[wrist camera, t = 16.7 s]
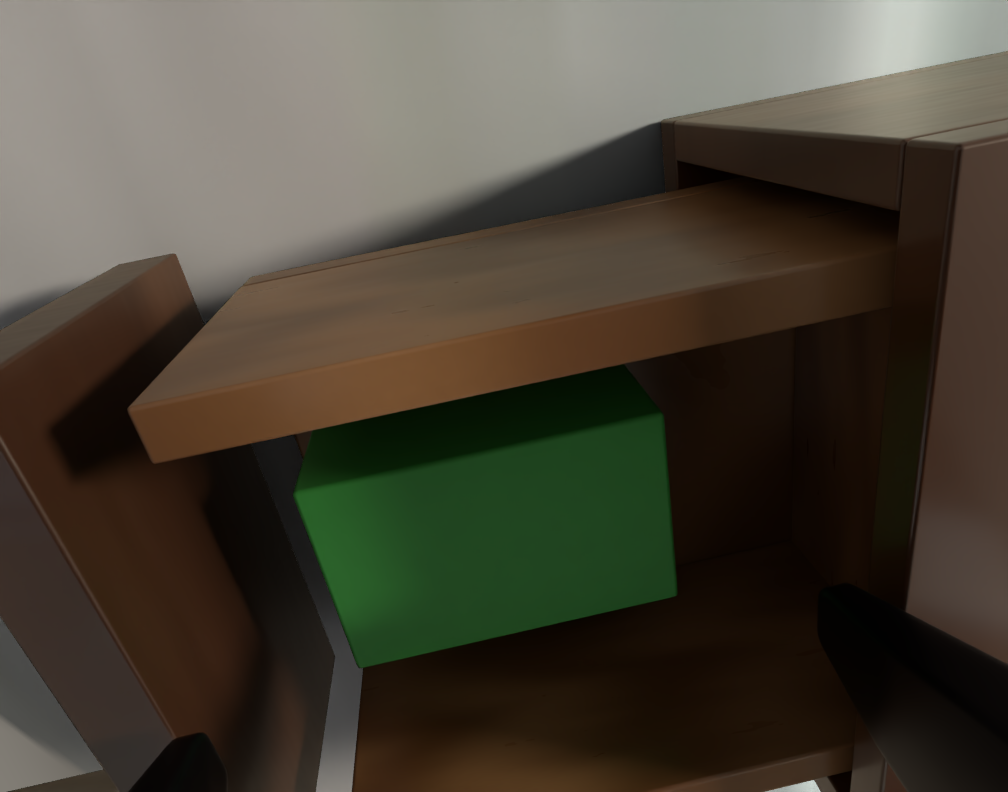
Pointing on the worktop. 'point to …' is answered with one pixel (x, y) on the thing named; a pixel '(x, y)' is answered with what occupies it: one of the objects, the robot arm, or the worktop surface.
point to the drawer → (432, 380)
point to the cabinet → (910, 320)
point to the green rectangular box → (491, 514)
